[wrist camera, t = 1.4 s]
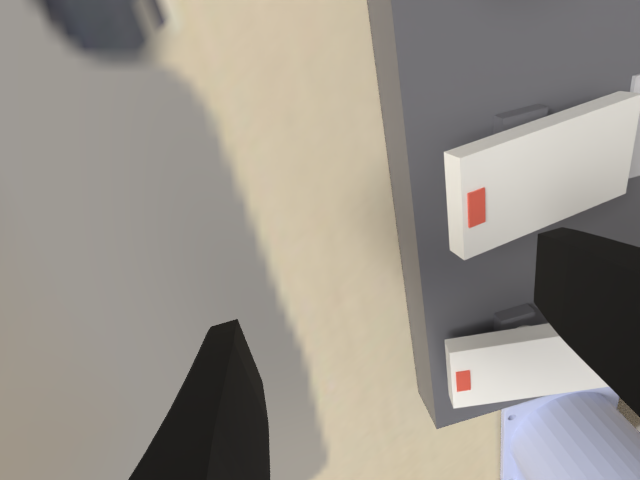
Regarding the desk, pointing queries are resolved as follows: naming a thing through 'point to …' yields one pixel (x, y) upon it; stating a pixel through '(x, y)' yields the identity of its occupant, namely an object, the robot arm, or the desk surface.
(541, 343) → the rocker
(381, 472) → the desk surface
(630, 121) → the rocker middle
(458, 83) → the rocker switch panel
